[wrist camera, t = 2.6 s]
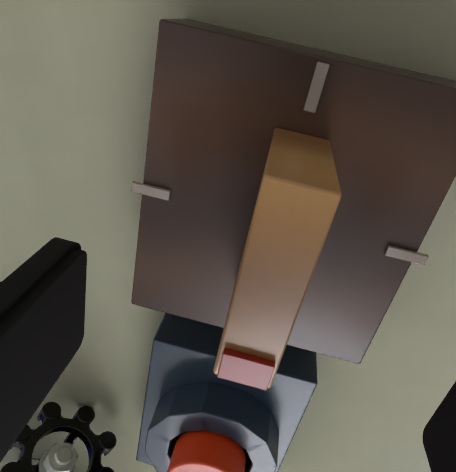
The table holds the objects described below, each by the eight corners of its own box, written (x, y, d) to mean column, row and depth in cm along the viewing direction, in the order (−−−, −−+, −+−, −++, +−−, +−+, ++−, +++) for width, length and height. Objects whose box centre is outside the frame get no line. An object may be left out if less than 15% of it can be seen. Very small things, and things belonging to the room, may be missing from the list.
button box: (166, 310, 21) (139, 368, 18) (316, 350, 21) (319, 416, 17) (147, 428, 26) (124, 491, 23) (269, 462, 26) (263, 531, 22)
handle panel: (175, 16, 15) (146, 15, 12) (470, 84, 14) (511, 101, 11) (146, 264, 20) (121, 304, 17) (359, 320, 20) (368, 369, 17)
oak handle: (274, 126, 13) (262, 178, 9) (330, 139, 13) (344, 198, 9) (233, 287, 16) (210, 380, 12) (278, 299, 16) (270, 396, 12)
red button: (180, 420, 20) (170, 454, 18) (253, 440, 19) (249, 476, 18) (171, 463, 21) (161, 497, 20) (237, 482, 21) (232, 518, 20)
